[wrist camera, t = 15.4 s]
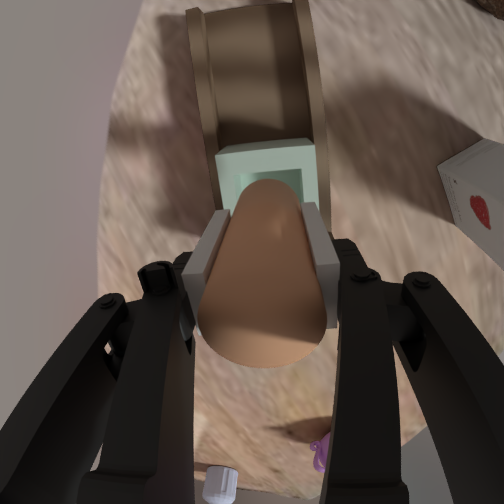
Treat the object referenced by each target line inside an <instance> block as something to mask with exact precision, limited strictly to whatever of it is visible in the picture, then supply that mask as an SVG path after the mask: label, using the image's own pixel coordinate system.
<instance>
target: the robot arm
mask: <svg viewBox="0 0 504 504" xmlns="http://www.w3.org/2000/svg"><path fill="white" fill-rule="evenodd" d="M300 205H301V214H302V218H303V222H304V226H305V230H306V234H307V238H308V242H309V246H310V251H311V255H312V259H313V263H314V268H315V272H316V277H317V279H318V281H319V284H320V286H321V290H322V294H323V299H324V303H325V308H326V312H327V327H326V329H331V328H337V320H338V321H339V336H338V348H337V350H338V356H337V371H336V383H335V395H334V405H333V414H332V423H331V432H330V439H329V447H328V454H327V460H326V467H325V473H324V479H323V485H322V490H321V496H320V501H319V504H409V492H408V488H407V485H405V483H404V482H402V479H401V435H400V414H399V399H398V387H397V377H396V368H395V359H394V352H393V346H394V348H395V350H396V352H397V354H398V357H399V359H400V361H401V363H402V365H403V368H404V370H405V372H406V374H407V377H408V379H409V381H410V383H411V386H412V388H413V390H414V393H415V395H416V398H417V400H418V402H419V405H420V407H421V410H422V412H423V415H424V417H425V420H426V422H427V425H428V427H429V430H430V433H431V435H432V438H433V441H434V444H435V447H436V449H437V452H438V455H439V458H440V461H441V464H442V467H443V470H444V473H445V476H446V479H447V482H448V486H449V489H450V492H451V496H452V499H453V503H454V504H504V365H503V363H502V362H501V361H500V359H499V357H498V356H497V355H496V353H495V352H494V350H493V349H492V347H491V346H490V345H489V343H488V342H487V340H486V339H485V338H484V336H483V335H482V334H481V332H480V331H479V330H478V328H477V327H476V326H475V324H474V323H473V322H472V320H471V319H470V318H469V316H468V315H467V314H466V313H465V311H464V310H463V309H462V308H461V306H460V305H459V304H458V303H457V301H456V300H455V299H454V298H453V297H452V295H451V294H450V293H449V292H448V291H447V289H446V288H445V287H444V286H443V285H442V284H441V282H440V281H439V280H438V279H437V278H436V277H434V276H433V275H431V274H428V273H426V272H420V271H419V272H412V273H408V274H407V275H406V276H404V280H403V284H401V283H391V282H385V281H382V280H381V277H380V275H379V273H378V272H376V271H375V270H373V269H370V268H368V267H367V265H366V263H365V261H364V259H363V257H362V255H361V253H360V252H359V250H358V248H357V246H356V244H355V243H354V242H352V241H351V240H349V239H348V238H347V239H334V240H331V239H330V237H329V234H328V232H327V229H326V227H325V224H324V222H323V220H322V217H321V215H320V213H319V210H318V208H317V205H316V203H315V202H303V203H300ZM230 220H231V214H230V209H224V210H216V211H215V213H214V214H213V216H212V218H211V220H210V222H209V223H208V225H207V227H206V229H205V231H204V233H203V234H202V236H201V238H200V240H199V242H198V244H197V246H196V247H195V249H194V251H193V252H183V253H182V254H181V255H179V256H178V257H177V258H176V259H175V261H174V262H173V264H172V263H170V262H168V261H157V262H153V263H150V264H148V265H145V266H144V267H142V268H141V269H140V270H139V271H138V272H137V274H138V277H139V280H140V283H141V286H142V289H143V292H144V294H143V297H142V299H140V300H136V301H131V302H127V303H126V302H125V299H124V296H123V295H121V294H119V293H109V294H106V295H103V296H102V297H101V298H99V299H98V300H96V301H95V302H94V303H93V305H92V306H91V307H90V308H89V309H88V311H87V312H86V313H85V314H84V315H83V317H82V318H81V319H80V320H79V322H78V323H77V324H76V325H75V327H74V328H73V329H72V330H71V331H70V333H69V334H68V335H67V337H66V338H65V339H64V340H63V342H62V343H61V344H60V346H59V347H58V348H57V349H56V351H55V352H54V353H53V355H52V356H51V357H50V359H49V360H48V361H47V363H46V364H45V366H44V367H43V368H42V369H41V371H40V372H39V374H38V375H37V376H36V378H35V379H34V381H33V382H32V384H31V385H30V386H29V388H28V389H27V391H26V392H25V394H24V395H23V396H22V398H21V399H20V401H19V403H18V404H17V406H16V407H15V408H14V410H13V412H12V413H11V414H10V416H9V418H8V419H7V421H6V422H5V424H4V425H3V427H2V429H1V430H0V504H195V497H194V496H195V495H194V449H193V419H194V369H195V339H194V335H193V330H194V327H195V325H196V328H197V331H198V335H202V334H201V332H200V329H199V326H198V320H197V314H198V308H199V304H200V301H201V299H202V296H203V293H204V290H205V287H206V285H207V282H208V279H209V276H210V273H211V271H212V268H213V265H214V262H215V260H216V257H217V254H218V252H219V249H220V246H221V243H222V241H223V238H224V235H225V233H226V230H227V227H228V225H229V222H230ZM107 343H108V344H109V345H110V347H111V349H112V350H111V351H110V353H109V354H107V352H106V351H105V349H104V347H105V346H106V344H107ZM392 343H393V344H392ZM102 443H103V445H102ZM101 445H102V451H101V456H100V462H99V465H98V468H97V469H96V470H94V471H90V469H91V467H92V465H93V463H94V460H95V458H96V456H97V454H98V452H99V449H100V447H101Z"/></svg>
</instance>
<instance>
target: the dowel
mask: <svg viewBox="0 0 504 504" xmlns="http://www.w3.org/2000/svg"><path fill="white" fill-rule="evenodd" d="M197 320H198V326H199V329H200V332H201V334H202V336H203V338H204V340H205V341H206V342H207V344H208V345H209V346H210V347H211V348H212V349H213V350H214V351H215V352H217V353H218V354H219V355H221V356H222V357H224V358H225V359H227V360H229V361H232V362H234V363H237V364H240V365H243V366H248V367H254V368H275V367H280V366H285V365H288V364H291V363H294V362H296V361H298V360H300V359H302V358H304V357H305V356H307V355H308V354H309V353H311V352H312V351H313V350H314V349H315V348H316V347H317V346H318V344H319V343H320V341H321V340H322V338H323V336H324V334H325V331H326V327H327V312H326V308H325V303H324V299H323V294H322V290H321V286H320V284H319V281H318V279H317V277H316V272H315V268H314V263H313V259H312V255H311V251H310V246H309V242H308V238H307V234H306V230H305V226H304V222H303V218H302V214H301V207H300V203H299V199H298V197H297V195H296V193H295V192H294V190H293V189H292V188H291V187H290V186H288V185H287V184H286V183H284V182H282V181H279V180H276V179H260V180H257V181H255V182H253V183H251V184H249V185H248V186H247V187H246V188H245V189H244V190H243V191H242V193H241V194H240V196H239V199H238V201H237V204H236V206H235V209H234V212H233V214H232V217H231V220H230V222H229V225H228V227H227V230H226V233H225V235H224V238H223V241H222V243H221V246H220V249H219V252H218V254H217V257H216V260H215V262H214V265H213V268H212V271H211V273H210V276H209V279H208V282H207V285H206V287H205V290H204V293H203V296H202V299H201V301H200V304H199V308H198V314H197Z"/></svg>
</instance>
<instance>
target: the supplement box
mask: <svg viewBox="0 0 504 504" xmlns="http://www.w3.org/2000/svg"><path fill="white" fill-rule="evenodd" d="M437 168H438V171H439V174H440V177H441V180H442V183H443V186H444V189H445V192H446V195H447V198H448V201H449V205H450V208H451V212H452V215H453V219H454V222H455V225H456V227H458V228H459V229H460V230H461V231H462V232H463V233H464V234H466V235H467V236H468V237H469V238H470V239H471V240H472V241H473V242H474V243H476V244H477V245H478V246H479V247H480V248H481V249H482V250H483V251H484V252H485V253H486V254H487V255H488V256H489V257H490V258H491V259H492V260H493V261H495V262H496V263H497V264H498V265H499V266H500V267H501V269H502V270H503V271H504V144H501V143H498V142H495V141H492V140H489V139H486V138H484V139H482V140H480V141H479V142H477V143H475V144H474V145H472V146H470V147H469V148H467V149H465V150H463V151H462V152H460V153H458V154H457V155H455V156H453V157H451V158H450V159H448V160H446V161H444V162H443V163H441V164H440V165H438V166H437Z"/></svg>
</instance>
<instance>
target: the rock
mask: <svg viewBox="0 0 504 504" xmlns="http://www.w3.org/2000/svg"><path fill="white" fill-rule="evenodd" d="M476 1H477V2H478V3H479V4H480V5H481V6H482V7H483V8H485V9H486V10H487V11H489V12H490V13H492V14H493V15H494V17H495V18H497V19H501V20H503V21H504V0H476Z"/></svg>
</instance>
